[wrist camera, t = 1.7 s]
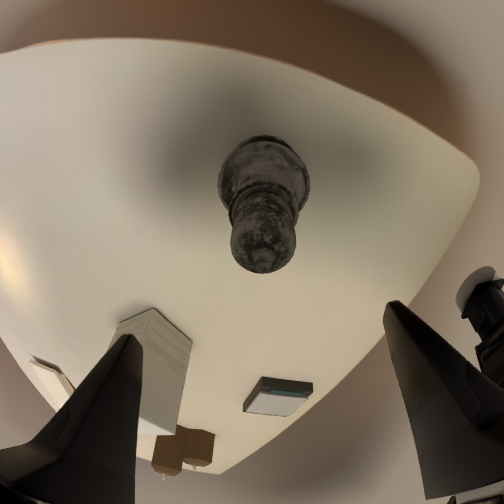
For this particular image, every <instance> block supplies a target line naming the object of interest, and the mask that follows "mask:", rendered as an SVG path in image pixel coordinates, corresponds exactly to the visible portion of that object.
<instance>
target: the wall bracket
mask: <svg viewBox="0 0 504 504" xmlns="http://www.w3.org/2000/svg"><path fill="white" fill-rule="evenodd" d="M29 363H30V365H31V366H32V368H33V370H34V371H35V373H36V374H37V376H38V378H39V379H40V381H41V382H42V384H43V385H44V387H45V388H46V390H47V391H48V392H49V394H50V395H51V397H52V398H53V400H54V401H55V402H56V404H57V405H58V406H59V408H61V407H62V406H63V405H64V403H65V402H66V401H67V400H68V399H69V397H70V396H71V395H72V394H73V392H74V390H73V388H72V387H71V385H70V383H69V382H68V380H67V379H66V377H65V375H64V374H63V373H60V372H58V371H56V370H54V369H51V368H49V367H47V366H44V365H42V364H40V363H37V362H35V361H33V360H30V362H29Z"/></svg>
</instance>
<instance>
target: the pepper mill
mask: <svg viewBox="0 0 504 504" xmlns="http://www.w3.org/2000/svg"><path fill="white" fill-rule="evenodd" d="M218 191H219V196H220V199H221V201H222V203H223V205H224V207H225V208H226V209H227V210H228V211H229V220H230V223H231V225H232V227H233V229H232V234H231V241H230V245H231V251H232V255H233V257H234V259H235V260H236V261H237V263H238V264H239V265H240V266H242V267H243V268H245V269H246V270H248V271H251V272H254V273H260V274H264V273H271V272H274V271H277V270H279V269H280V268H282V267H284V266H285V265H286V264H287V263H288V262H289V261H290V260H291V258H292V257H293V255H294V251H295V248H296V234H295V229H294V227H295V225H296V223H297V220H298V216H299V211H300V210H301V209H302V208H303V206H304V204H305V203H306V201H307V199H308V195H309V191H310V177H309V174H308V171H307V168H306V166H305V164H304V163H303V161H302V160H301V159H300V157H299V156H298V155H297V154H296V153H295V152H294V151H293V150H292V148H291V147H290V146H289V145H288V144H287V143H285V142H284V141H283V140H280V139H278V138H276V137H272V136H266V135H263V136H255V137H252V138H249V139H247V140H245V141H244V142H242V143H241V144H240V145H238V147H237V148H236V149H235V150H234V152H233V153H231V154H230V155H229V157H228V158H227V159H226V160H225V162H224V163H223V165H222V167H221V170H220V172H219V175H218Z"/></svg>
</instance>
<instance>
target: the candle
mask: <svg viewBox="0 0 504 504" xmlns="http://www.w3.org/2000/svg"><path fill="white" fill-rule="evenodd" d="M214 438H215V434H212V433H210V432H207V431H204V430H197V429H187V428H184V427H181V426H179V425H177V426H176V432H175V435H157V438H156V443H155V448H154V453H153V458H152V463H151V466H152V467H153V469H154V470H155V471H156V472H159V473H162V474H163V476H162V479H163V481H164V480H165V475H171V476H175V475H177V474H179V473H180V472H181V469H182V463H183V462H185V463H186V464H190V465H193V469H194V470H195V469H196V466H202V467H205V466H207V465H209V464H211V463H212V456H213V447H214Z"/></svg>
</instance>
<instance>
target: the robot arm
mask: <svg viewBox="0 0 504 504" xmlns="http://www.w3.org/2000/svg"><path fill="white" fill-rule="evenodd" d="M503 285H504V279H503V278H501V279H497V280H492V281H487V282H482V283H478V284H476V286H475V288H474V290H473V292H472V294H471V296H470V298H469V301H468V303H467V305H466V307H465V309H464V311H463V313H462V315H461V318H462V319H466V318H468V319H469V320H470V322H471V324H472V326H473V328H474V330H475V332H476V333H477V332H478V334H479V336H480V338H481V340H482V342H481V343H480V344H479V345H477V346H476V347H475V350H476V355H477V358H478V362H479V365H480V369H481V372H480V371H479V370H478V369H477V368H476V367H474V366H473V365H472V364H471V363H470V362H469V361H467V360H466V359H465V357H463V356H462V355H461V354H460V353H459V352H458V351H457V350H456V349H455V348H454V347H452V346H451V345H450V344H449V343H448V342H447V341H446V340H445V339H444V338H442V337H441V336H440V335H439V334H438V333H437V332H436V331H434V330H433V329H432V328H431V327H430V326H429V325H427V324H426V323H425V322H424V321H423V320H421V319H420V318H419V317H418V316H417V315H416V314H415V313H413V312H412V311H411V310H410V309H408V308H407V307H406V306H405V305H404V304H403V303H401V302H400V301H398V300H395V301H391V302H388V303H387V304H386V308H385V312H384V315H383V325H384V329H385V333H386V338H387V342H388V346H389V351H390V355H391V360H392V363H393V366H394V370H395V373H396V376H397V379H398V382H399V386H400V389H401V392H402V396H403V399H404V402H405V406H406V409H407V413H408V417H409V421H410V425H411V429H412V433H413V437H414V441H415V445H416V450H417V454H418V460H419V464H420V469H421V475H422V480H423V486H424V492H425V498H426V500H428V499H434V498H440V497H445V496H450V495H453V496H452V497H451V498H450V500H449V502H448V503H447V504H504V292H503V291H502V290H501V289H502V287H503ZM142 379H143V347H142V345H141V344H140V342H139V341H138V340H137V338H136V337H135V336H134V335H133V334H131V333H129V334H122V335H121V336H120V337H119V338H118V339H117V341H116V342H115V343H114V344H113V345H112V346H111V348H110V349H109V350H108V351H107V352H106V354H105V355H104V356H103V357H102V358H101V359H100V361H99V362H98V363H97V364H96V365H95V367H94V368H93V369H92V370H91V371H90V373H89V374H88V375H87V376H86V377H85V379H84V380H83V381H82V382H81V384H80V385H79V386H78V387H77V389H76V390H75V391H74V392H73V394H72V395H71V396H70V397H69V399H68V400H67V401H66V402H65V403H64V405H63V406H62V407H61V408H60V410H59V411H58V412H57V413H56V414H55V416H54V417H53V418H52V419H51V420H50V421H49V422H48V424H46V425H45V427H44V428H43V429H42V430H41V431H40V432H39V433H38V434H37V435H36V436H35V437H34V438H33V439H32V440H31V441H29V442H28V443H25V444H23V445H19V446H14V447H10V448H6V449H1V450H0V504H135V465H136V464H135V463H136V447H137V433H138V422H139V411H140V402H141V394H142Z"/></svg>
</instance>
